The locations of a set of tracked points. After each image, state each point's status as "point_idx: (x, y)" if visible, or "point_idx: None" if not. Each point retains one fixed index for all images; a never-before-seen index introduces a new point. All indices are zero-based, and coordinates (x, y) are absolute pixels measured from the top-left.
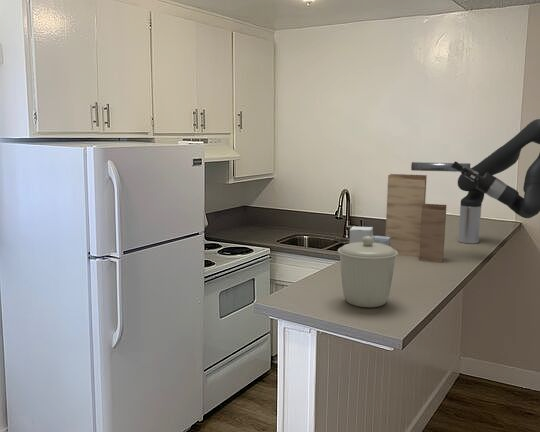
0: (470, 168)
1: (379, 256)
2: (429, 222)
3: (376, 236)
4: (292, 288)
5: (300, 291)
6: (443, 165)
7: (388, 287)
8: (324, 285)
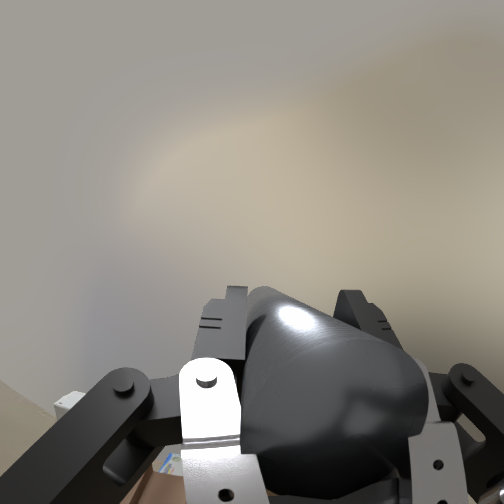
0: (409, 443)
1: None
2: None
3: (180, 461)
4: (15, 394)
5: (3, 395)
6: (249, 313)
7: None
8: (13, 412)
